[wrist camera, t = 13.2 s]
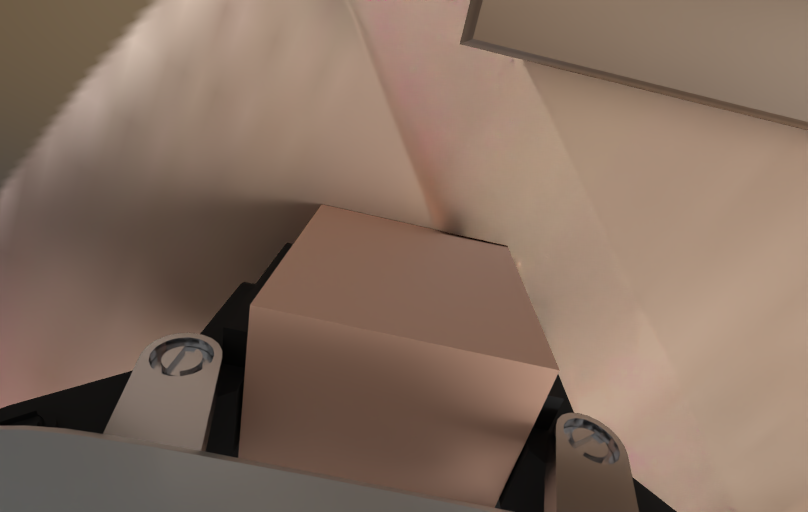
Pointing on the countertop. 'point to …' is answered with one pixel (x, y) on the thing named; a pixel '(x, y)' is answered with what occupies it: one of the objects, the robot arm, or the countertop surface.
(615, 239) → the countertop surface
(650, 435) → the countertop surface
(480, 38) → the walnut base plate
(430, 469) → the terracotta cube
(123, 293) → the countertop surface
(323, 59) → the countertop surface
